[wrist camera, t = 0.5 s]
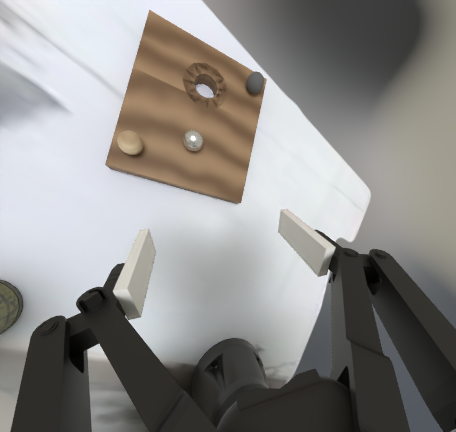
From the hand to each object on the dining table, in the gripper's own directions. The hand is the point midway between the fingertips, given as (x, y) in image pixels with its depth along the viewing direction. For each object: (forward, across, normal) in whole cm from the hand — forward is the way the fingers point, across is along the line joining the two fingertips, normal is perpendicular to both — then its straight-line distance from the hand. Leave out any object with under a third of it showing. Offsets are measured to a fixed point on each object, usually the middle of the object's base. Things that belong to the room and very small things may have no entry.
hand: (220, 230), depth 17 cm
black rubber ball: (+26, -13, -16) cm, 34 cm away
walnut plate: (+25, 0, -10) cm, 27 cm away
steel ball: (+19, +1, -7) cm, 20 cm away
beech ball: (+17, +11, -7) cm, 21 cm away
